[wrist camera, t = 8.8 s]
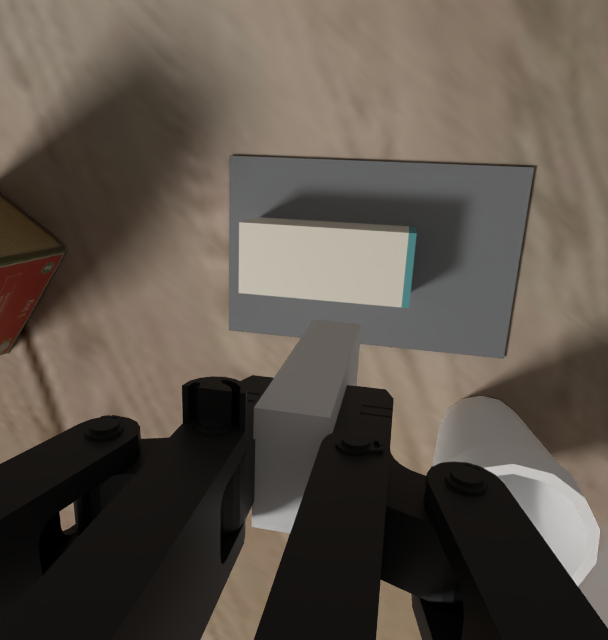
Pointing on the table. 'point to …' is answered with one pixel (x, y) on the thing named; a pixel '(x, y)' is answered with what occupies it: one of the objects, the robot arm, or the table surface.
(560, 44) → the table surface
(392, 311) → the mat
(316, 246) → the cream teal rectangular block
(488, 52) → the table surface
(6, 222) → the food packaging
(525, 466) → the foam cup
